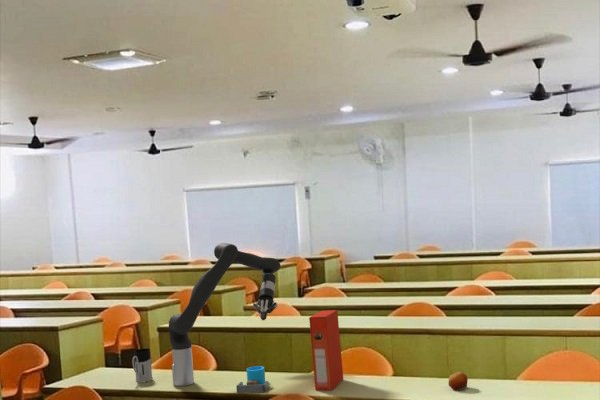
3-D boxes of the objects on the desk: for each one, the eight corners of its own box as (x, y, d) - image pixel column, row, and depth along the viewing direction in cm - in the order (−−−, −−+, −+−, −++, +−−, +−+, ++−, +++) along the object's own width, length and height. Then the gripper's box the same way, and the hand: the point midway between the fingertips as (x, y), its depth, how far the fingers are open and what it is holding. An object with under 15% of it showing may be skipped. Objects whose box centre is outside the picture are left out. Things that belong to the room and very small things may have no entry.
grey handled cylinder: (156, 377, 329) (154, 348, 329) (142, 385, 315) (140, 354, 316) (140, 377, 331) (138, 348, 332) (126, 385, 318) (124, 354, 318)
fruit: (469, 388, 263) (457, 371, 266) (453, 397, 267) (442, 380, 269) (475, 383, 270) (464, 366, 272) (460, 392, 274) (449, 375, 276)
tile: (247, 391, 291) (246, 382, 291) (249, 388, 295) (249, 380, 295) (255, 391, 290) (255, 382, 290) (258, 388, 294) (257, 379, 294)
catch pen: (236, 392, 290) (236, 385, 290) (241, 388, 296) (240, 381, 296) (265, 391, 287) (264, 385, 287) (268, 387, 294) (268, 381, 294)
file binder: (314, 390, 284) (309, 317, 284) (326, 379, 300) (321, 310, 301) (332, 390, 281) (326, 316, 282) (343, 379, 297) (337, 310, 298)
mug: (260, 389, 293) (258, 370, 293) (244, 388, 296) (243, 370, 296) (272, 381, 304) (271, 364, 304) (257, 381, 307) (255, 363, 307)
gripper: (253, 287, 336) (248, 315, 324) (278, 286, 334) (274, 314, 322) (256, 296, 341) (252, 324, 329) (281, 295, 339) (277, 323, 327)
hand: (263, 319), depth 325 cm, fingers closed
